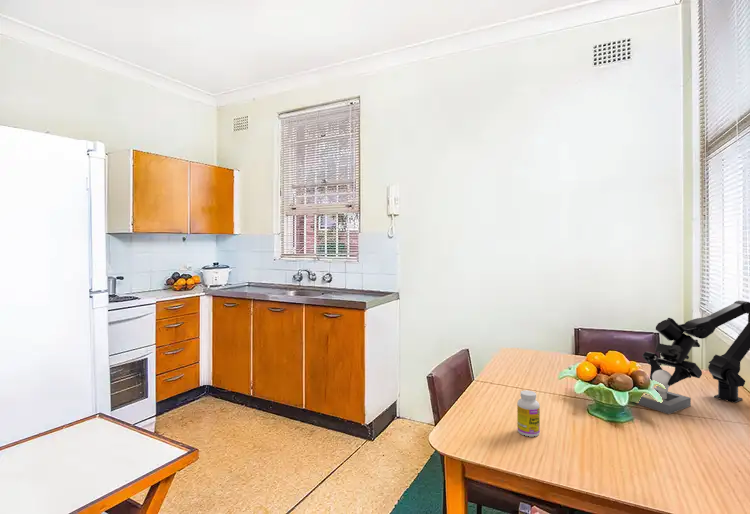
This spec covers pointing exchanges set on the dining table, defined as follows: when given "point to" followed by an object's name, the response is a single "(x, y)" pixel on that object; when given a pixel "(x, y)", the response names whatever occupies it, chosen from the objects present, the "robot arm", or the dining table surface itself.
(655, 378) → the lightbulb
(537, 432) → the supplement bottle
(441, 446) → the dining table surface
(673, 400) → the socket block
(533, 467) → the dining table surface
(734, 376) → the robot arm
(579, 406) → the dining table surface
